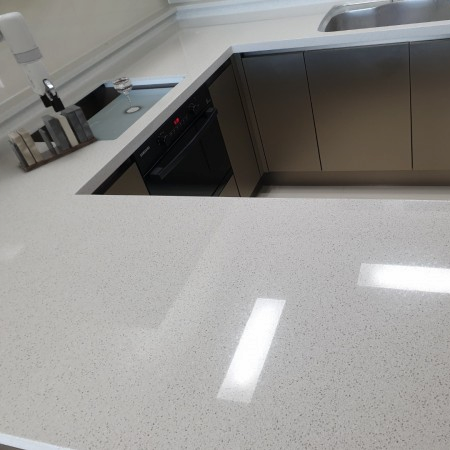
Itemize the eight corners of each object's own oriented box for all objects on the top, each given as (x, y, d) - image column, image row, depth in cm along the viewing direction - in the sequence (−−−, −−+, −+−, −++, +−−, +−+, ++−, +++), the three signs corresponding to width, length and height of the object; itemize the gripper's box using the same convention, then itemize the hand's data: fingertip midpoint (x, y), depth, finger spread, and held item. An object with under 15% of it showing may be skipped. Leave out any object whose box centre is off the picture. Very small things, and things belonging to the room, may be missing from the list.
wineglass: (131, 106, 185) (119, 77, 178) (144, 106, 182) (133, 76, 175) (120, 113, 180) (108, 83, 173) (134, 113, 178) (122, 83, 171)
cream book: (72, 146, 157) (58, 119, 151) (65, 142, 161) (52, 116, 155) (78, 144, 158) (65, 116, 152) (71, 140, 162) (58, 113, 156)
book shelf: (27, 171, 149) (7, 137, 142) (20, 165, 154) (0, 132, 147) (97, 140, 161) (81, 107, 154) (88, 136, 166) (72, 103, 159)
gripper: (8, 58, 146) (36, 108, 156) (24, 62, 134) (53, 117, 144) (32, 50, 149) (57, 100, 159) (49, 54, 138) (75, 108, 148)
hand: (55, 108), depth 152 cm, fingers open, 9 cm apart
